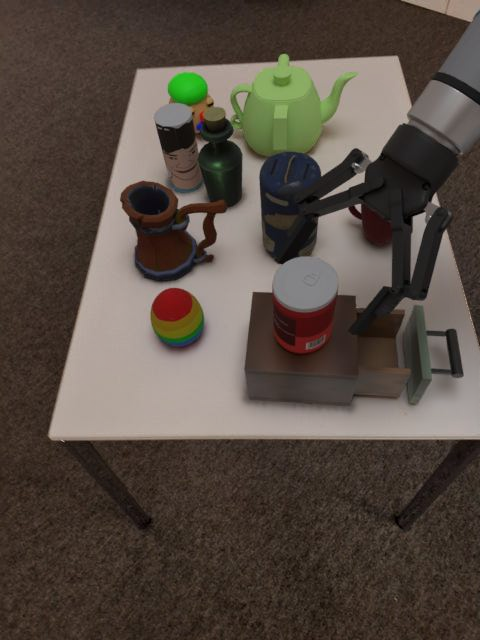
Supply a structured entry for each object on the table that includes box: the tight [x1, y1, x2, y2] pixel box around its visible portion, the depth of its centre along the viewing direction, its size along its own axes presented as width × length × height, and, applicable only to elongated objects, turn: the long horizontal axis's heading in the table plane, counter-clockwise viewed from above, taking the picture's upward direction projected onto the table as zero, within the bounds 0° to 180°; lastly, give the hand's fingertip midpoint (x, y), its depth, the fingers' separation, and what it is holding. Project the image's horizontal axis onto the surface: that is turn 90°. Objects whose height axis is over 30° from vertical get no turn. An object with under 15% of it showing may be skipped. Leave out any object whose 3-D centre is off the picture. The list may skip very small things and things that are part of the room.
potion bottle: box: [198, 106, 244, 208], centre depth 87 cm, size 8×8×18 cm
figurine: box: [167, 71, 215, 134], centre depth 101 cm, size 11×10×12 cm
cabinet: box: [244, 291, 359, 406], centre depth 69 cm, size 15×13×10 cm
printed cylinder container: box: [153, 103, 204, 194], centre depth 91 cm, size 7×7×15 cm
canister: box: [258, 152, 322, 259], centre depth 79 cm, size 10×10×18 cm
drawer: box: [353, 304, 465, 405], centre depth 68 cm, size 18×11×8 cm, turn 84°
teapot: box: [229, 53, 359, 157], centre depth 97 cm, size 19×20×14 cm
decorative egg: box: [149, 287, 205, 347], centre depth 74 cm, size 8×8×10 cm
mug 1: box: [119, 180, 228, 282], centre depth 80 cm, size 18×12×15 cm, turn 81°
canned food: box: [271, 255, 340, 354], centre depth 61 cm, size 8×8×11 cm
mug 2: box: [347, 203, 392, 245], centre depth 82 cm, size 11×8×10 cm
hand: (316, 296), depth 59 cm, fingers open, 13 cm apart
